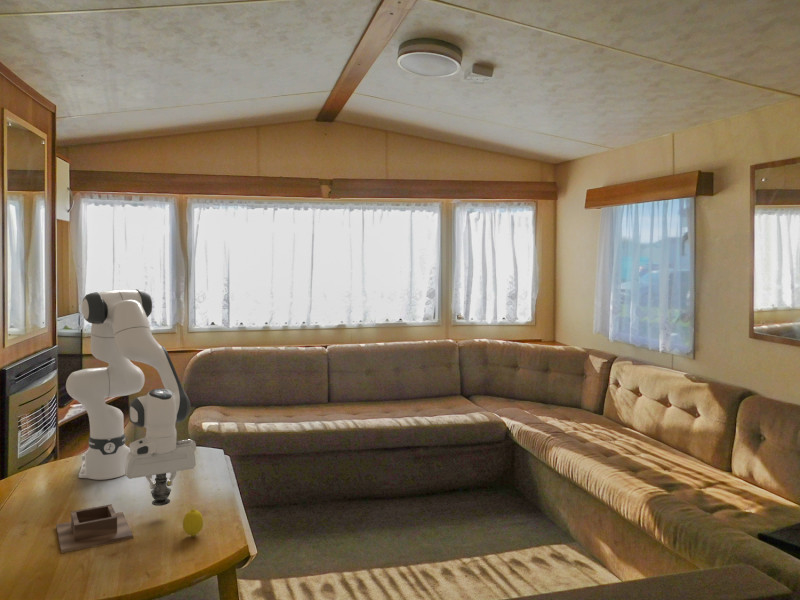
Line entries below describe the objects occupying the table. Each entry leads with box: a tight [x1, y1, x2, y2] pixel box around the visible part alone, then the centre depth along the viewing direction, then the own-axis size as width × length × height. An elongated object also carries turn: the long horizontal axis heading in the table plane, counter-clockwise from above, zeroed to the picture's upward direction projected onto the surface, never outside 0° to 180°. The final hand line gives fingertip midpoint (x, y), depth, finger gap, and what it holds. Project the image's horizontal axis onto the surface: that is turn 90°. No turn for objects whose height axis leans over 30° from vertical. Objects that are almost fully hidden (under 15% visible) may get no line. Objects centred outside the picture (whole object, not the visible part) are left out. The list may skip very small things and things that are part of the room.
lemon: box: [182, 508, 204, 537], centre depth 181 cm, size 6×6×8 cm
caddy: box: [55, 504, 134, 554], centre depth 181 cm, size 18×18×6 cm
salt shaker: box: [150, 473, 172, 507], centre depth 193 cm, size 6×6×12 cm
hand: (161, 486), depth 193 cm, fingers closed on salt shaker, 3 cm apart
